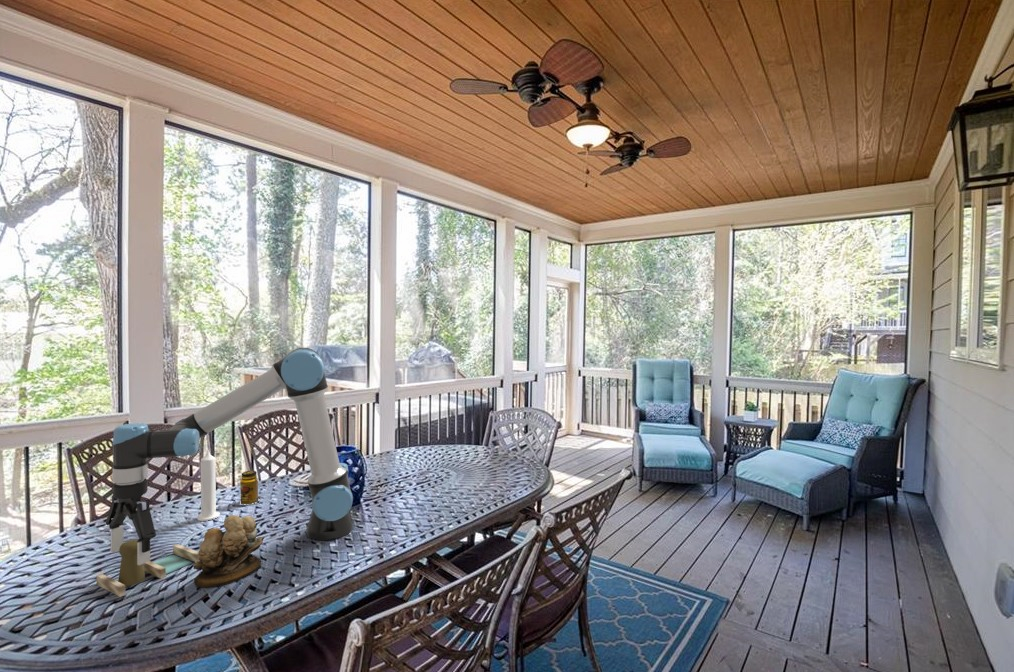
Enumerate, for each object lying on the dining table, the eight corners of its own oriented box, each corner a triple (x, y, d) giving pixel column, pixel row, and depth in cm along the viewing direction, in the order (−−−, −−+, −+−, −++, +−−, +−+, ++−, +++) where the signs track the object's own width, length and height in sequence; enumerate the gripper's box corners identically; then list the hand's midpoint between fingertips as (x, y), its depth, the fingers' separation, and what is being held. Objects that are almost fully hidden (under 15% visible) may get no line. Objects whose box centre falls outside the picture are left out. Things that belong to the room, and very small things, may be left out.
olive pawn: (114, 589, 127) (114, 548, 126) (120, 577, 132) (120, 539, 132) (142, 583, 129) (142, 544, 129) (147, 572, 135) (147, 535, 134)
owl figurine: (253, 554, 146) (254, 500, 146) (271, 567, 139) (272, 510, 138) (186, 578, 132) (187, 518, 131) (203, 594, 125) (203, 531, 124)
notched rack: (231, 547, 150) (231, 539, 150) (120, 596, 123) (120, 587, 123) (208, 539, 156) (208, 531, 156) (96, 584, 128) (96, 575, 128)
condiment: (238, 506, 183) (238, 475, 182) (240, 498, 191) (240, 469, 190) (259, 503, 186) (259, 473, 185) (261, 496, 193) (261, 467, 193)
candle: (192, 518, 171) (192, 450, 170) (212, 511, 177) (212, 446, 176) (204, 522, 168) (203, 453, 167) (224, 515, 174) (223, 448, 173)
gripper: (171, 484, 128) (171, 561, 128) (122, 469, 139) (121, 540, 139) (140, 493, 121) (139, 574, 121) (90, 476, 132) (90, 551, 132)
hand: (130, 556), depth 130 cm, fingers open, 13 cm apart
